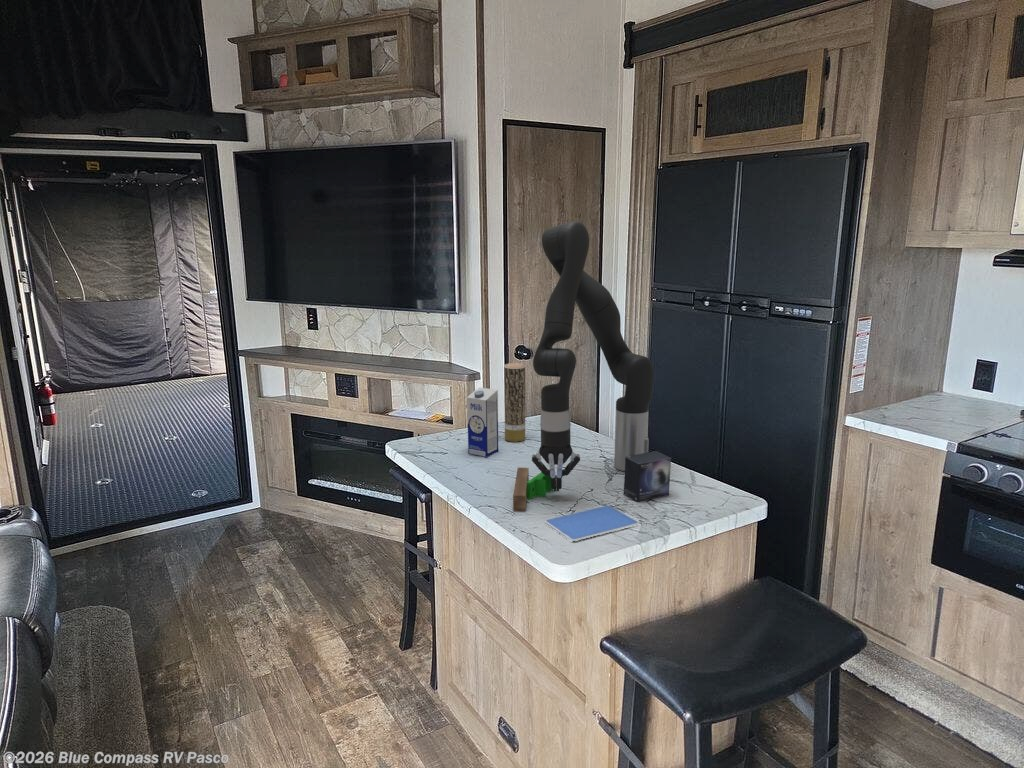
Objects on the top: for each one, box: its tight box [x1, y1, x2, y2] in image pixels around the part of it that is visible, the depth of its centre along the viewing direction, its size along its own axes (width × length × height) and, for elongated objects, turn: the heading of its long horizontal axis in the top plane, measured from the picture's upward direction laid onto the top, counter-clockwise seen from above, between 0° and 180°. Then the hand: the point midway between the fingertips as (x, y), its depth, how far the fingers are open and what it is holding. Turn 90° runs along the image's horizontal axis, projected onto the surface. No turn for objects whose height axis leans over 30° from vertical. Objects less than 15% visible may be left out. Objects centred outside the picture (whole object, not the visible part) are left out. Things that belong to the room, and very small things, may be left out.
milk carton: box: [466, 386, 499, 458], centre depth 208 cm, size 7×7×20 cm
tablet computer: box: [544, 505, 640, 541], centre depth 159 cm, size 19×13×1 cm, turn 119°
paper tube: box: [503, 362, 526, 443], centre depth 220 cm, size 7×7×25 cm
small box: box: [623, 450, 672, 503], centre depth 175 cm, size 11×6×10 cm, turn 117°
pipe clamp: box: [527, 471, 554, 500], centre depth 177 cm, size 11×4×5 cm, turn 151°
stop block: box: [512, 467, 530, 512], centre depth 176 cm, size 3×20×4 cm, turn 176°
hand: (556, 490), depth 175 cm, fingers closed
